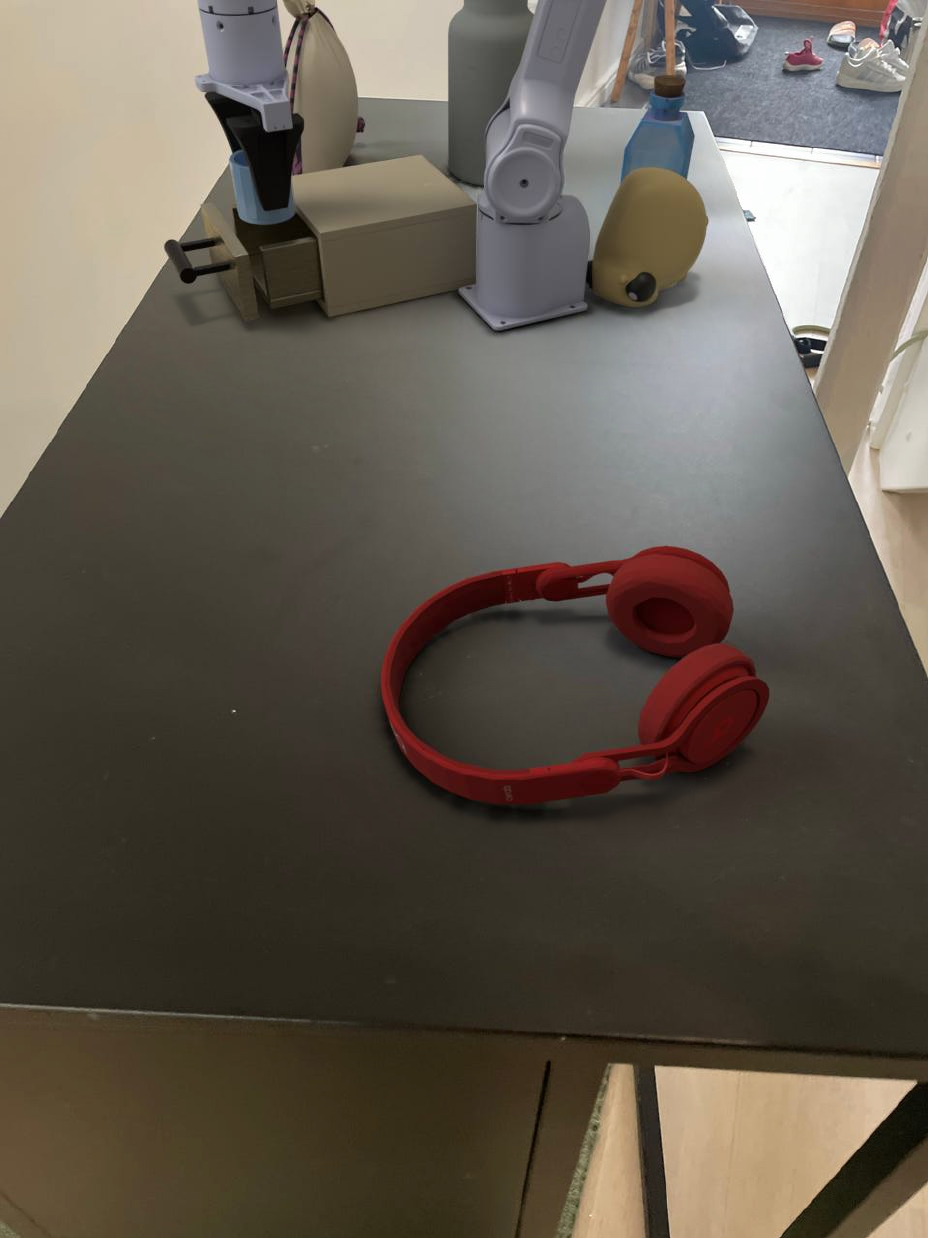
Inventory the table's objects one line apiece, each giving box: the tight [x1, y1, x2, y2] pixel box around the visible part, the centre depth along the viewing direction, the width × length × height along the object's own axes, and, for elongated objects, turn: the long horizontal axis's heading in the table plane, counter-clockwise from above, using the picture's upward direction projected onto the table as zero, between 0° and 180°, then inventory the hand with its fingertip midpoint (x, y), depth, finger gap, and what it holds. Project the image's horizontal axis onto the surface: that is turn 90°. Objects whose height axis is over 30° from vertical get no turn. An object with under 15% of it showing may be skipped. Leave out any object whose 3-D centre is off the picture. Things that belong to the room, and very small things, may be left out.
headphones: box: [380, 545, 770, 806], centre depth 50 cm, size 15×7×20 cm
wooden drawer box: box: [292, 154, 478, 318], centre depth 85 cm, size 15×13×8 cm
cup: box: [228, 150, 295, 225], centre depth 76 cm, size 5×5×4 cm
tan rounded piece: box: [585, 167, 710, 308], centre depth 82 cm, size 10×12×11 cm
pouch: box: [282, 0, 366, 176], centre depth 95 cm, size 25×8×19 cm, turn 171°
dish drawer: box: [163, 201, 324, 322], centre depth 82 cm, size 18×11×6 cm, turn 115°
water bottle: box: [447, 0, 534, 187], centre depth 95 cm, size 10×10×28 cm
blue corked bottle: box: [619, 74, 696, 185], centre depth 95 cm, size 6×6×12 cm
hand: (265, 195), depth 77 cm, fingers closed on cup, 5 cm apart
